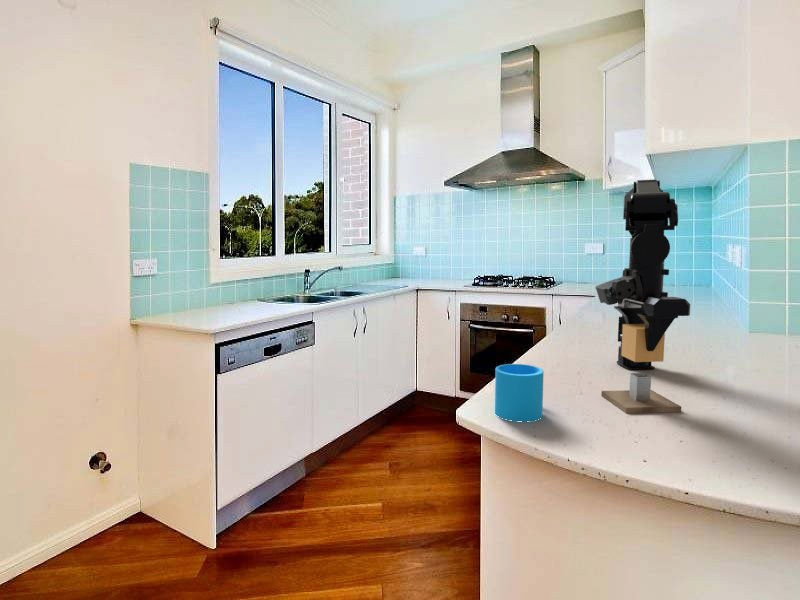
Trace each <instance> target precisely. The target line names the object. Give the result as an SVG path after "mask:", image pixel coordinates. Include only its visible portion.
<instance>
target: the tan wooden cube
mask: <svg viewBox="0 0 800 600" xmlns="http://www.w3.org/2000/svg"><path fill="white" fill-rule="evenodd" d="M621 336H622V352H621V355H622V356H624V357H626V358H628V359H630V360H632V361H634V362H651V363H656V362H657V363H658V362H659V363H661V362H664V355H665V339H666V337H665V336H666V332H665V333H664V335H663V336H662V338H661V340H660V341H659V343H658V344H657V346H656V348H655V349H654V351H647V348H646V339H645V324H623V330H622V334H621Z"/></svg>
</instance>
